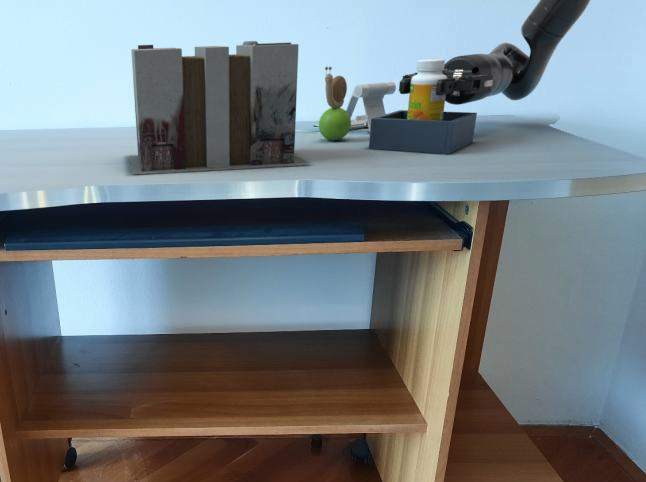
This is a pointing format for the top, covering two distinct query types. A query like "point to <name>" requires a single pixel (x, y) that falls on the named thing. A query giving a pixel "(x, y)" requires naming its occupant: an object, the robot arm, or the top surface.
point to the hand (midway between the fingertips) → (420, 87)
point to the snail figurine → (335, 109)
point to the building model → (215, 108)
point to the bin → (422, 132)
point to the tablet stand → (369, 102)
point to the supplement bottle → (426, 91)
